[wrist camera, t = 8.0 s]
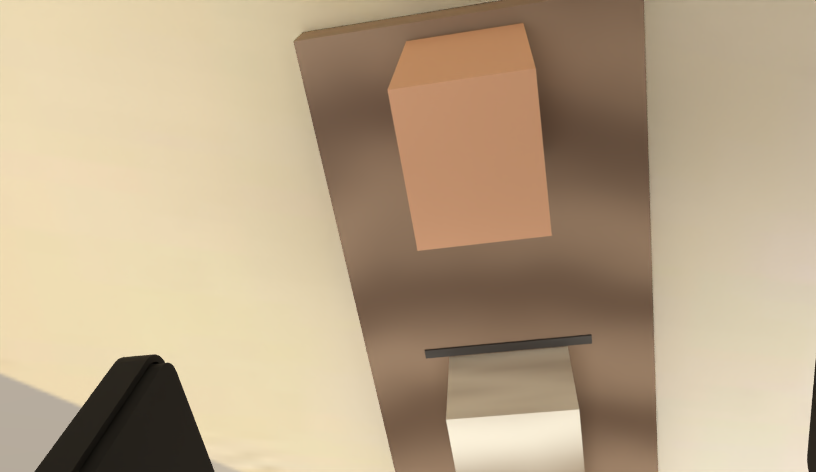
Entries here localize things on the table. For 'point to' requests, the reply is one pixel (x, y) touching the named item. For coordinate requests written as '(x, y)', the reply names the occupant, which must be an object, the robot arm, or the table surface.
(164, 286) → the table surface
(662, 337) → the table surface
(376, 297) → the ticket board
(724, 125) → the table surface
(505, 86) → the stub
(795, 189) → the table surface
